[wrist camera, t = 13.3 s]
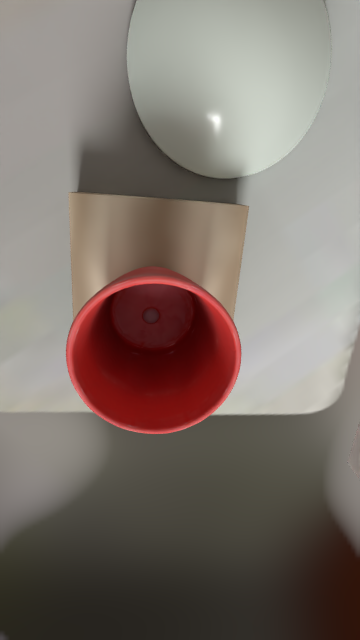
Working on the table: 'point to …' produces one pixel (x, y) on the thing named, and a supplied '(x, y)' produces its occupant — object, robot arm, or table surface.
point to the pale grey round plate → (228, 79)
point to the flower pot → (153, 352)
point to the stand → (155, 242)
